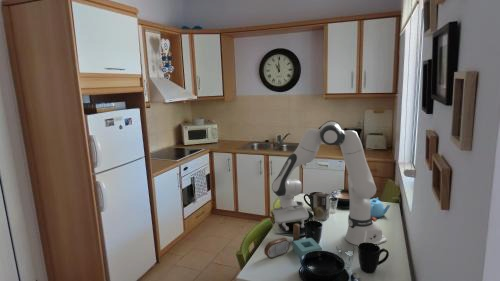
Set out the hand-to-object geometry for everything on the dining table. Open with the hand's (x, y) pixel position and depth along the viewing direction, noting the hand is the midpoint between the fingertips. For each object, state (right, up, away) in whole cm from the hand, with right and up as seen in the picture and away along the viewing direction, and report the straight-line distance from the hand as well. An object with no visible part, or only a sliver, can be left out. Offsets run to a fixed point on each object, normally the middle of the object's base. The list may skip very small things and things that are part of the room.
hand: (295, 229), depth 178 cm
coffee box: (+21, -1, +30) cm, 37 cm away
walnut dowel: (+1, -7, 0) cm, 7 cm away
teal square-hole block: (+4, -9, -12) cm, 16 cm away
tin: (-11, -10, -13) cm, 20 cm away
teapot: (+58, 0, +34) cm, 67 cm away
